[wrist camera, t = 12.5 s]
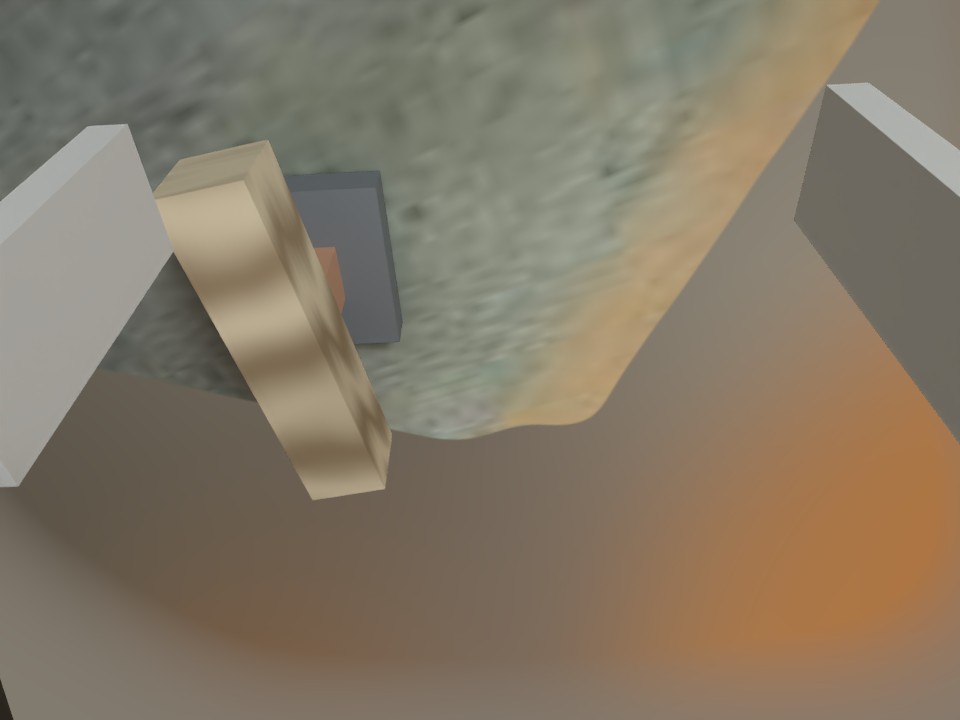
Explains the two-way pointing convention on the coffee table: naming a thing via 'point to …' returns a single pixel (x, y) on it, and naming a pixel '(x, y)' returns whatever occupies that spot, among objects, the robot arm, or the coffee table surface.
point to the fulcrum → (352, 249)
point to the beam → (277, 314)
